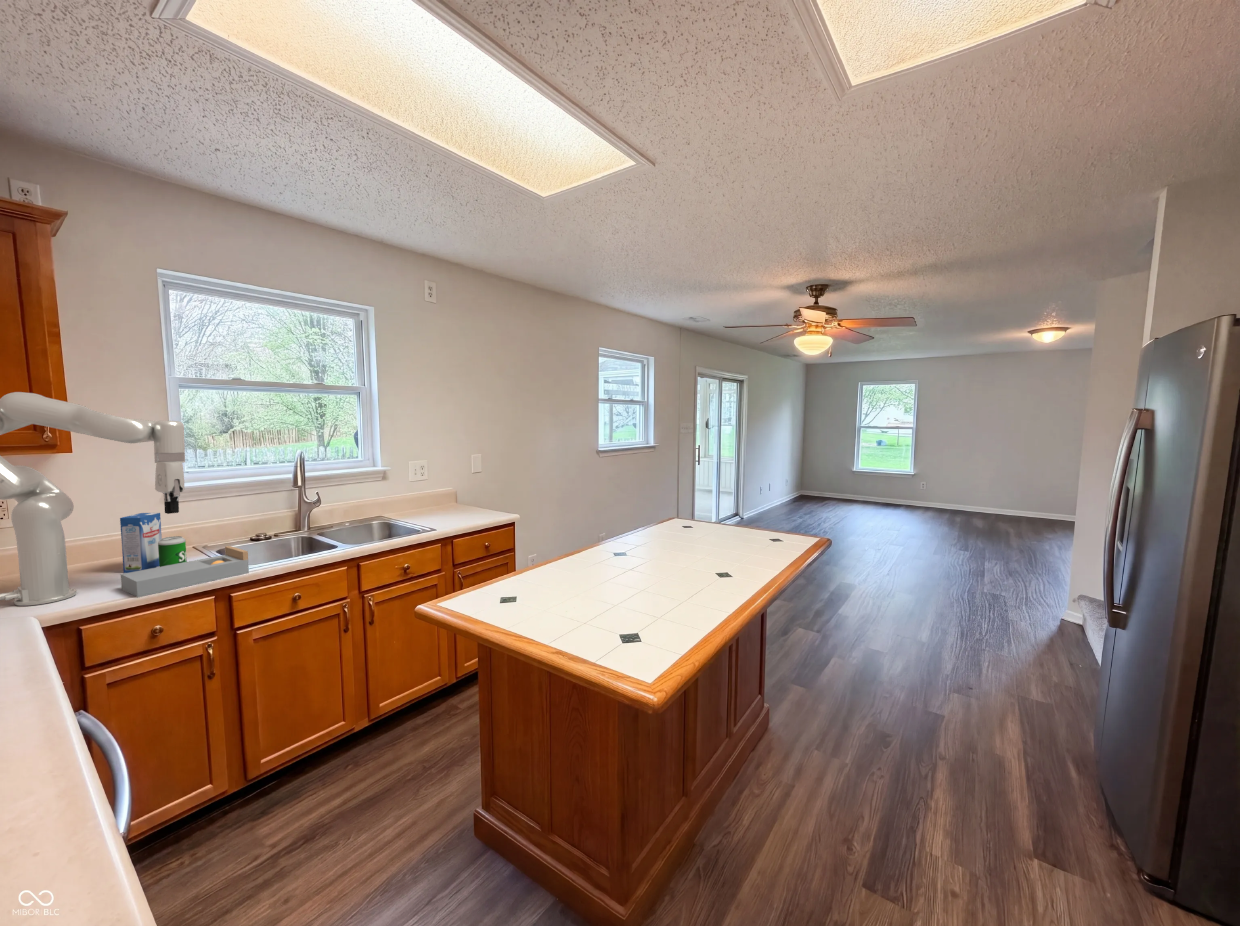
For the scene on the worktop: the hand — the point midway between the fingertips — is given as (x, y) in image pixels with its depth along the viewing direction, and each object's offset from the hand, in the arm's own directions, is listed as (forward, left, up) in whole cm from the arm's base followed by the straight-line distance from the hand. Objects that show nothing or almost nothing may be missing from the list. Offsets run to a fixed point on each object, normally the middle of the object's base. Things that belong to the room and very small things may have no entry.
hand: (171, 512), depth 166 cm
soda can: (+5, +19, -24) cm, 31 cm away
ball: (+12, 0, -22) cm, 25 cm away
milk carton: (0, +30, -24) cm, 38 cm away
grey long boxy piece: (+3, 0, -24) cm, 24 cm away
